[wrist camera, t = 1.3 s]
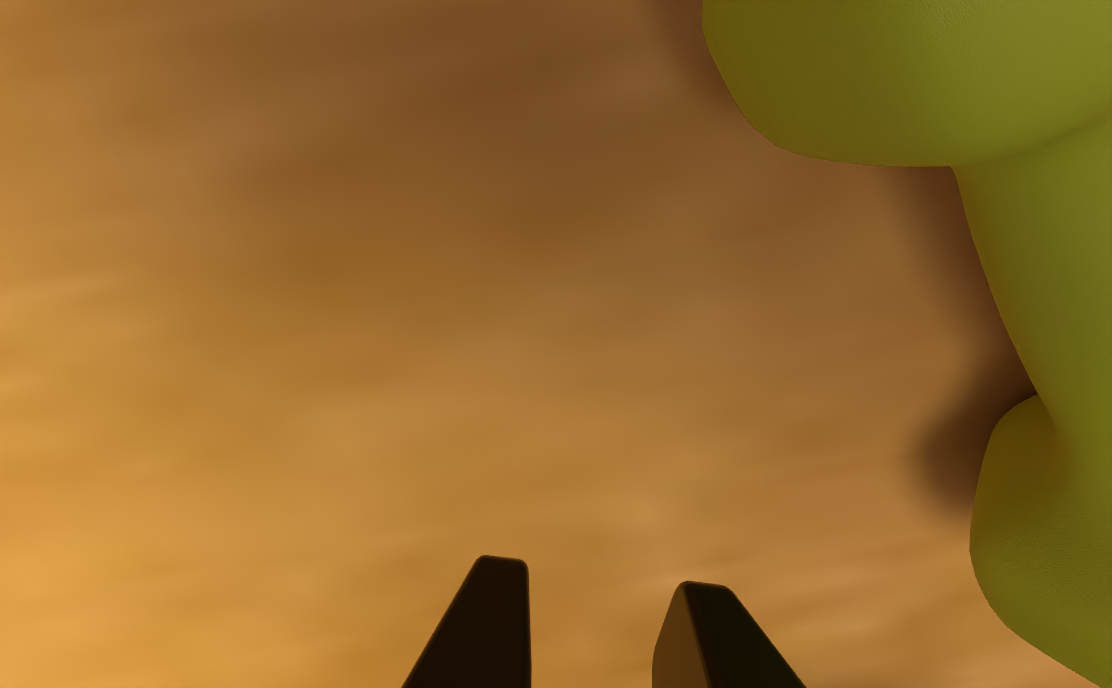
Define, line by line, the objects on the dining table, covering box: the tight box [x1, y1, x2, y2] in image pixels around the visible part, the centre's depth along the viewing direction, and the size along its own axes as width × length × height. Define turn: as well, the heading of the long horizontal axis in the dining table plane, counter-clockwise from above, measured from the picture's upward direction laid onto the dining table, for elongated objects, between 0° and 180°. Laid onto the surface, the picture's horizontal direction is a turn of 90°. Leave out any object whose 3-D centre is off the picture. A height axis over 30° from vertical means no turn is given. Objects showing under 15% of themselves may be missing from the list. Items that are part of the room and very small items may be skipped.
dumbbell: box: [702, 0, 1112, 688], centre depth 17 cm, size 16×8×7 cm, turn 30°
